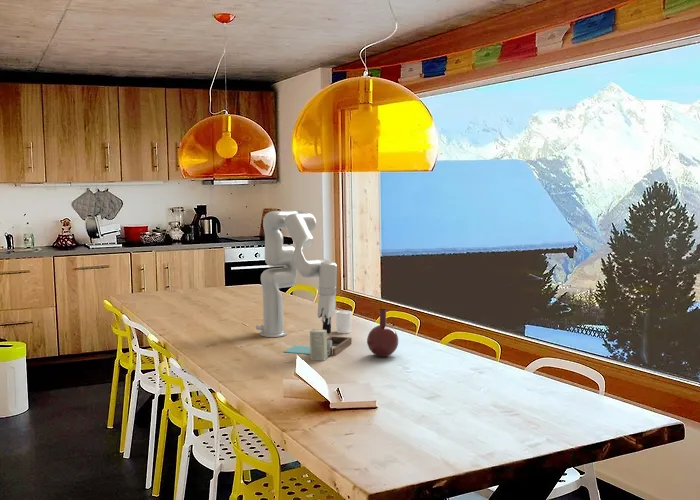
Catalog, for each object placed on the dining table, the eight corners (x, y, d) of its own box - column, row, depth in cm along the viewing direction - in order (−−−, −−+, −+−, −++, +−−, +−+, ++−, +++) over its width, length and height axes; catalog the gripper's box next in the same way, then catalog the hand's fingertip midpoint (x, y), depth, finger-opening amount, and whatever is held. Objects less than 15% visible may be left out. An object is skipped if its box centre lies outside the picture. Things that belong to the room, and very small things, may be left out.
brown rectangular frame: (312, 354, 319) (312, 347, 319) (330, 342, 341) (330, 336, 341) (335, 356, 316) (335, 349, 316) (351, 344, 338) (351, 337, 338)
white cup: (350, 334, 359) (350, 313, 358) (334, 333, 360) (334, 312, 359) (353, 330, 366) (353, 310, 365) (337, 330, 368) (337, 310, 367)
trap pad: (328, 345, 335) (328, 345, 335) (332, 343, 340) (332, 342, 340) (344, 346, 333) (344, 346, 333) (347, 344, 337) (347, 344, 337)
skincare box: (327, 358, 312) (327, 329, 311) (324, 361, 308) (324, 332, 307) (313, 357, 314) (313, 328, 313) (309, 359, 310) (309, 330, 309)
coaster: (283, 352, 322) (283, 351, 322) (294, 346, 334) (294, 345, 334) (309, 354, 319) (309, 353, 319) (319, 348, 330) (319, 347, 330)
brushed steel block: (312, 356, 314) (312, 342, 313) (317, 352, 320) (317, 339, 319) (327, 357, 312) (327, 343, 311) (332, 353, 318) (332, 340, 317)
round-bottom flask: (404, 358, 314) (404, 310, 311) (376, 361, 308) (376, 313, 306) (388, 351, 325) (389, 305, 323) (361, 354, 319) (361, 308, 317)
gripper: (325, 287, 328) (324, 328, 330) (313, 293, 314) (312, 336, 316) (341, 288, 326) (340, 330, 328) (330, 294, 312) (329, 337, 314)
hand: (326, 332), depth 322 cm, fingers closed
